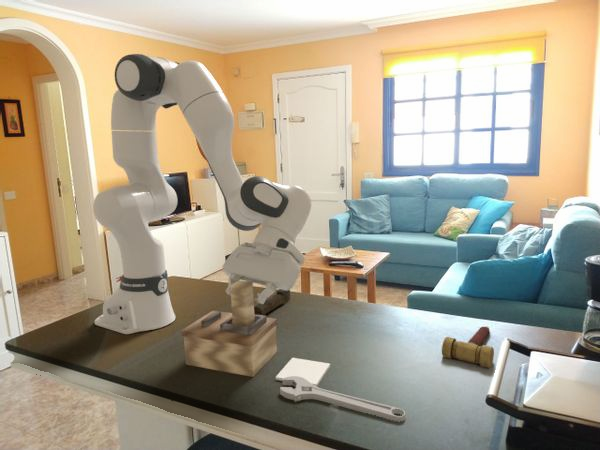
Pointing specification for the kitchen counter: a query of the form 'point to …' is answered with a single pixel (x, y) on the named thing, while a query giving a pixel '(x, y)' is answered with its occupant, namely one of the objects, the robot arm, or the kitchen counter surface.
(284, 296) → the hand tool
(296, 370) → the white mat
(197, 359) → the brown rectangular box
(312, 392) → the adjustable wrench
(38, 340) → the kitchen counter surface
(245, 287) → the oak block
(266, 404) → the kitchen counter surface
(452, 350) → the gavel
